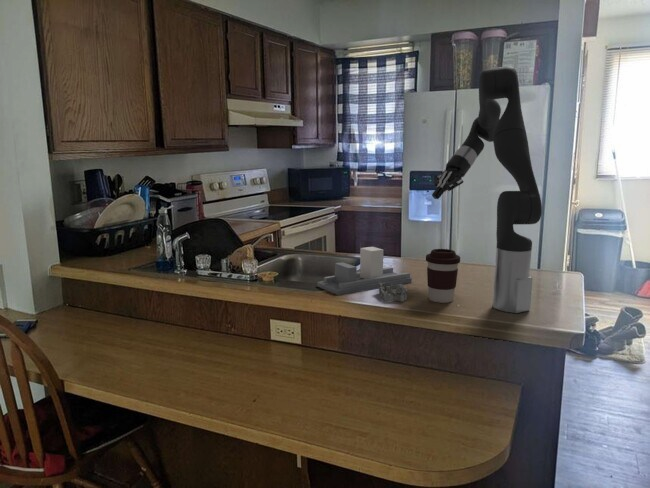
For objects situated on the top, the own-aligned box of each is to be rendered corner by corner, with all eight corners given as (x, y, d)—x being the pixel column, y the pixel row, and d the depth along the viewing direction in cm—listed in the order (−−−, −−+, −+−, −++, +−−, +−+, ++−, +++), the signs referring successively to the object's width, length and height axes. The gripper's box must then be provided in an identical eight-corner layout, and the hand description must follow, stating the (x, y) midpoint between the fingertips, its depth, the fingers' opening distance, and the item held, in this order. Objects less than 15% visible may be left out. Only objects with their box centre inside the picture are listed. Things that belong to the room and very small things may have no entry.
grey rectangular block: (359, 284, 163) (359, 266, 162) (348, 286, 161) (348, 268, 160) (345, 279, 170) (345, 261, 169) (334, 281, 168) (334, 263, 167)
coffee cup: (421, 294, 158) (423, 247, 155) (453, 295, 157) (456, 247, 155) (427, 304, 148) (429, 253, 145) (461, 305, 148) (464, 254, 145)
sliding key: (382, 279, 169) (383, 249, 168) (370, 281, 167) (371, 251, 165) (371, 275, 174) (372, 246, 173) (359, 277, 172) (360, 248, 170)
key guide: (411, 282, 172) (411, 273, 172) (337, 295, 157) (337, 285, 156) (389, 274, 182) (389, 266, 182) (317, 286, 167) (317, 277, 166)
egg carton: (377, 293, 161) (377, 280, 160) (401, 292, 161) (401, 280, 160) (383, 303, 150) (384, 289, 149) (408, 302, 151) (409, 289, 150)
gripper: (443, 153, 185) (416, 188, 181) (471, 154, 174) (443, 191, 170) (452, 168, 189) (426, 203, 185) (480, 169, 178) (453, 206, 174)
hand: (434, 197), depth 177 cm, fingers closed
